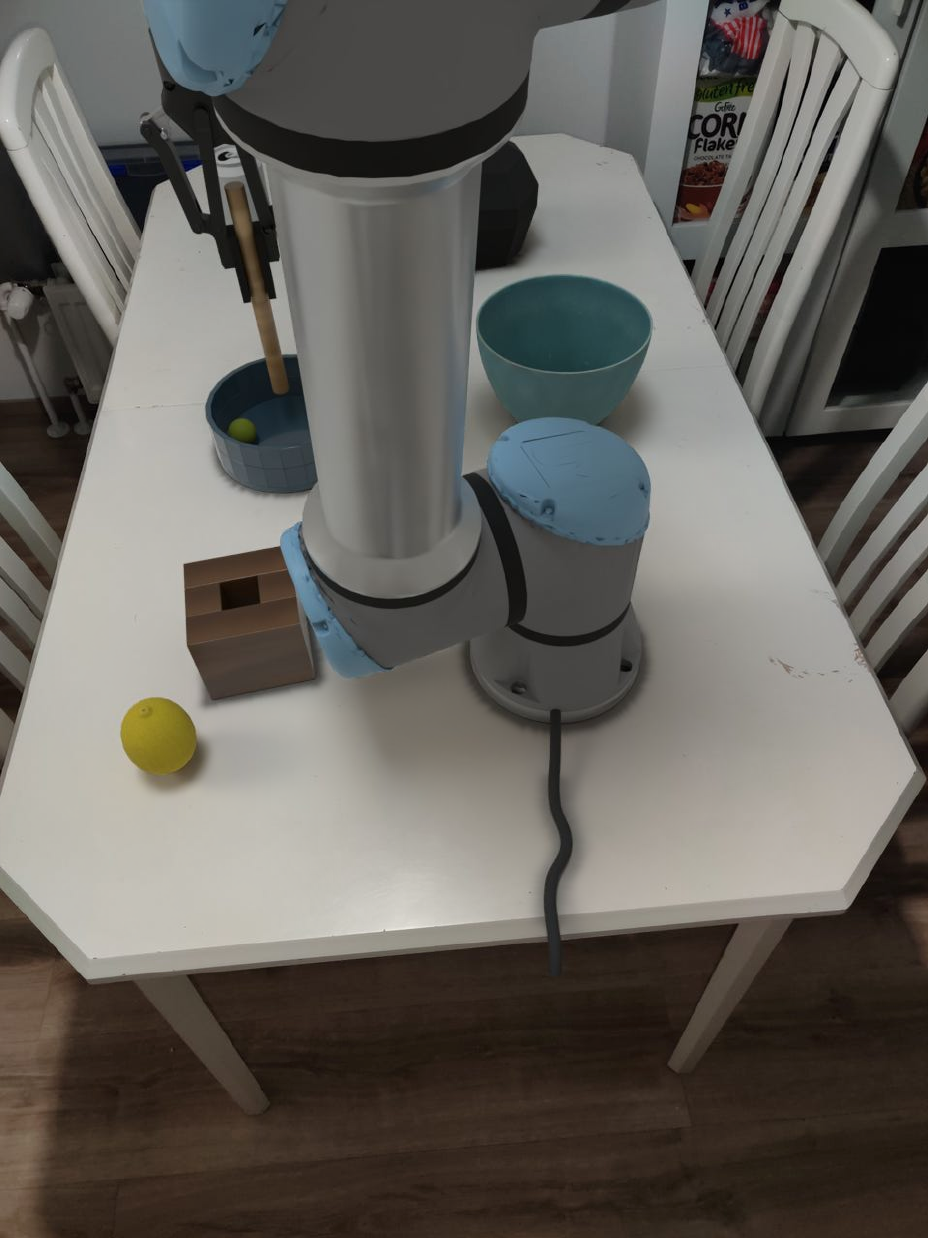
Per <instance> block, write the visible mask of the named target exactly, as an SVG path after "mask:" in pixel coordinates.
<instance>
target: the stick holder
mask: <svg viewBox="0 0 928 1238" xmlns="http://www.w3.org/2000/svg"><path fill="white" fill-rule="evenodd" d="M182 569H183V570H182V571H183V591H184V612H185V613H184V614H185V636H186V637H185V639H186V641H185V642H186V647H187V650H188V652H189V654H190V656H191V658H192V660H193V663H194V665H195V667H196V669H197V671H198V673H199V675H200V677H201V680H202V682H203V685H204V686H205V688H206V690H207V692H208V695H209V697H210V699H211V700H218V699H222V698H226V697H227V698H228V697H232V696H237V695H243V694H247V693H252V692H256V691H257V692H258V691H261V690H262V691H263V690H266V689H272V688H276V687H280V686H287V685H291V684H295V683H300V682H301V683H302V682H306V681H311V680H316V672H315V665H314V660H313V659H314V658H313V652H312V646H311V645H312V644H311V640H310V639H311V638H310V633H309V627H308V620H307V619H308V618H307V615H306V613H305V611H304V608H303V606H302V604H301V601H300V599H299V596H298V594H297V591H296V589H295V586H294V584H293V581H292V579H291V576H290V573H289V571H288V568H287V565H286V563H285V560H284V557H283V554H282V551H281V547H280V545H278V546H272V547H267V548H262V549H257V550H251V551H245V552H240V553H234V554H230V555H225V556H218V557H213V558H208V559H207V558H206V559H201V560H196V561H191V562H186V563H183V564H182Z"/></svg>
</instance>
